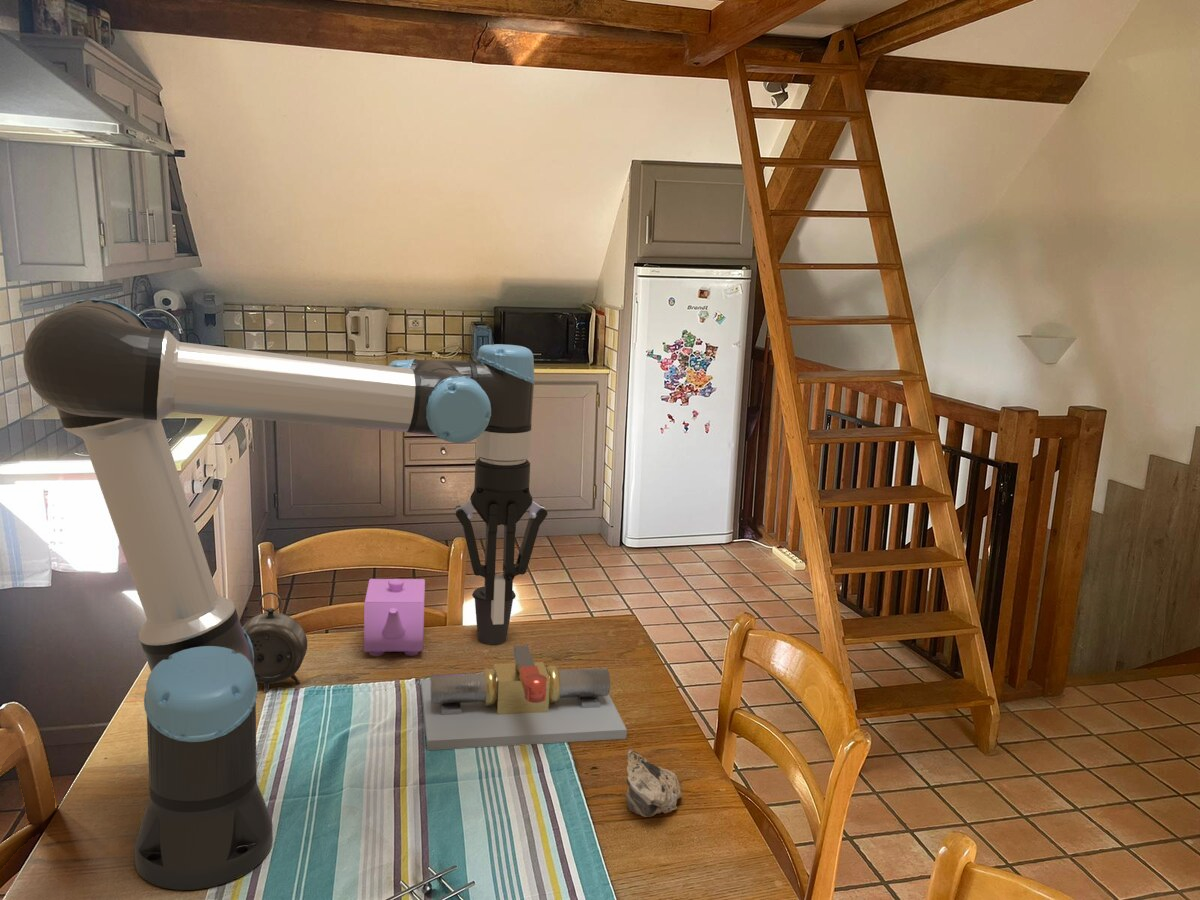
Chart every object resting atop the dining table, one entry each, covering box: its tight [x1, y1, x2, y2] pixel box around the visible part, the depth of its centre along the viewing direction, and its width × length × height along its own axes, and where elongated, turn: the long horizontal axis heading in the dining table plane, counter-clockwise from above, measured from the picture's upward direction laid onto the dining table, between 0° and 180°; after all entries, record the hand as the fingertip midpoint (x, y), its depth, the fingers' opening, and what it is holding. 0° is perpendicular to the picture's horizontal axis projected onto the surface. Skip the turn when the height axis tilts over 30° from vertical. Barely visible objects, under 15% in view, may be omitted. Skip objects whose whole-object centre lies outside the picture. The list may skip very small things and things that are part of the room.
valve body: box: [430, 661, 611, 715], centre depth 151 cm, size 6×28×6 cm, turn 103°
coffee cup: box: [471, 585, 517, 646], centre depth 178 cm, size 8×8×10 cm
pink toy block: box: [363, 578, 426, 657], centre depth 171 cm, size 20×10×12 cm, turn 9°
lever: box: [513, 645, 547, 703], centre depth 144 cm, size 16×3×5 cm, turn 13°
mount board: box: [420, 678, 628, 751], centre depth 152 cm, size 20×30×2 cm, turn 103°
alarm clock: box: [242, 591, 308, 693], centre depth 154 cm, size 11×5×16 cm, turn 96°
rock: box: [625, 748, 684, 818], centre depth 129 cm, size 9×7×10 cm
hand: (497, 620), depth 136 cm, fingers closed
